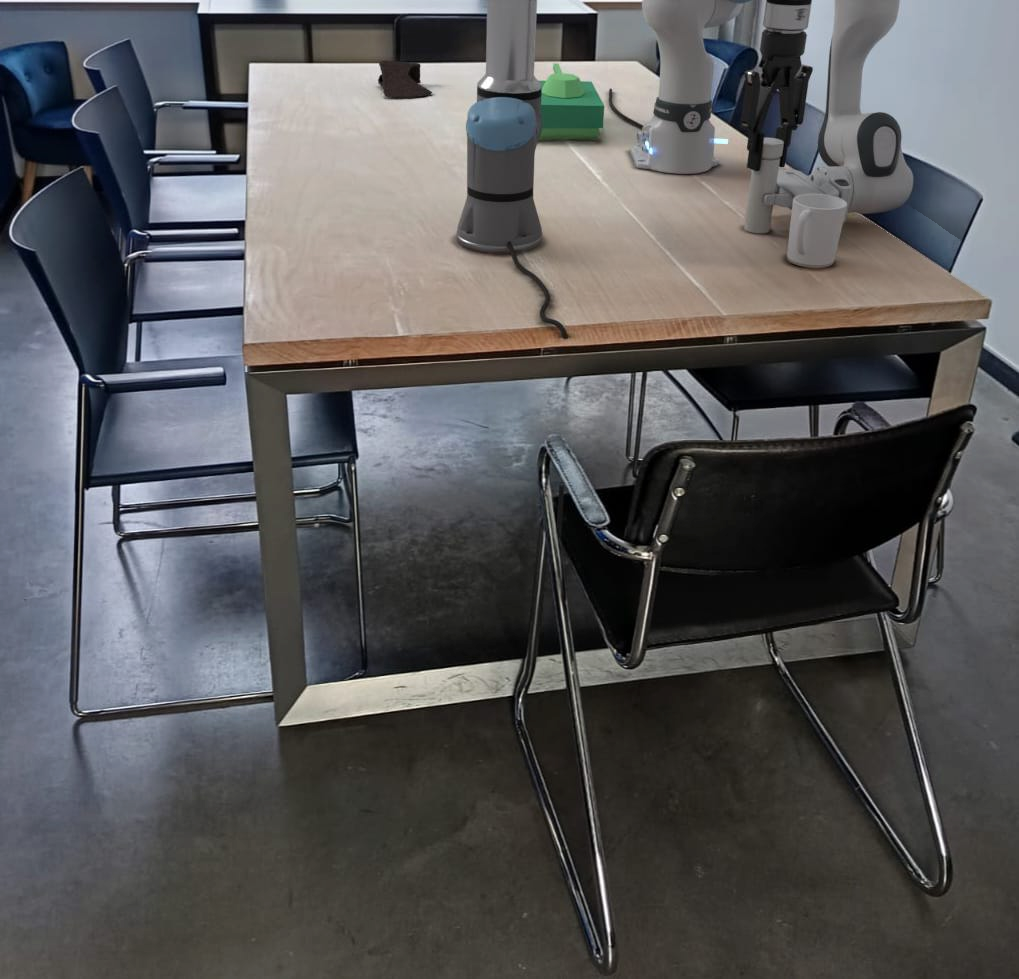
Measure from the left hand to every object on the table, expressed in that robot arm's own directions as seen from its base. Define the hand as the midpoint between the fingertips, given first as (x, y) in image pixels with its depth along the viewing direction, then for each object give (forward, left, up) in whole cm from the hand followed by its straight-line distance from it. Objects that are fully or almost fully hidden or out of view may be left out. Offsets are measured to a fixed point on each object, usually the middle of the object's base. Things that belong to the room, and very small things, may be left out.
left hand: (765, 167), depth 198 cm
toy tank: (+73, +44, -12) cm, 86 cm away
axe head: (+104, +89, -12) cm, 137 cm away
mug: (-17, -7, -12) cm, 22 cm away
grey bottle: (0, 0, -12) cm, 12 cm away
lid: (0, 0, +4) cm, 4 cm away
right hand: (0, +1, -5) cm, 5 cm away
